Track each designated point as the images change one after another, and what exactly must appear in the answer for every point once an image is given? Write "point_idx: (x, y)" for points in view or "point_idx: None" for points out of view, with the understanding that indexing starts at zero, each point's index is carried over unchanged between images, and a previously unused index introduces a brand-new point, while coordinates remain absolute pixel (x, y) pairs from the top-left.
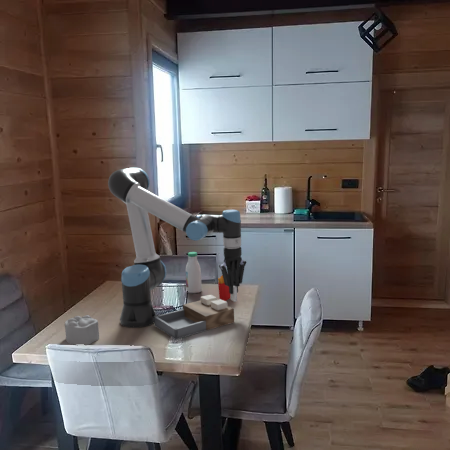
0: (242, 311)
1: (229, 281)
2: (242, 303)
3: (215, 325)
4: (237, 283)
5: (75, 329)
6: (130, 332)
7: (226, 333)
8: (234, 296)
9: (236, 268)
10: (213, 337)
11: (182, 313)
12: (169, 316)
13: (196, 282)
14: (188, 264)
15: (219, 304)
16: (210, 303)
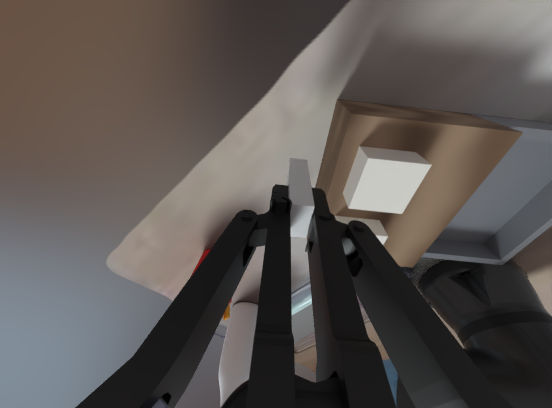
0: (238, 161)
1: (363, 248)
2: (198, 208)
3: (432, 111)
4: (279, 217)
5: None
6: (549, 249)
7: (474, 9)
8: (306, 172)
9: (294, 369)
10: (549, 17)
11: None
12: (455, 248)
13: (246, 327)
14: None
15: (418, 162)
16: (364, 221)
